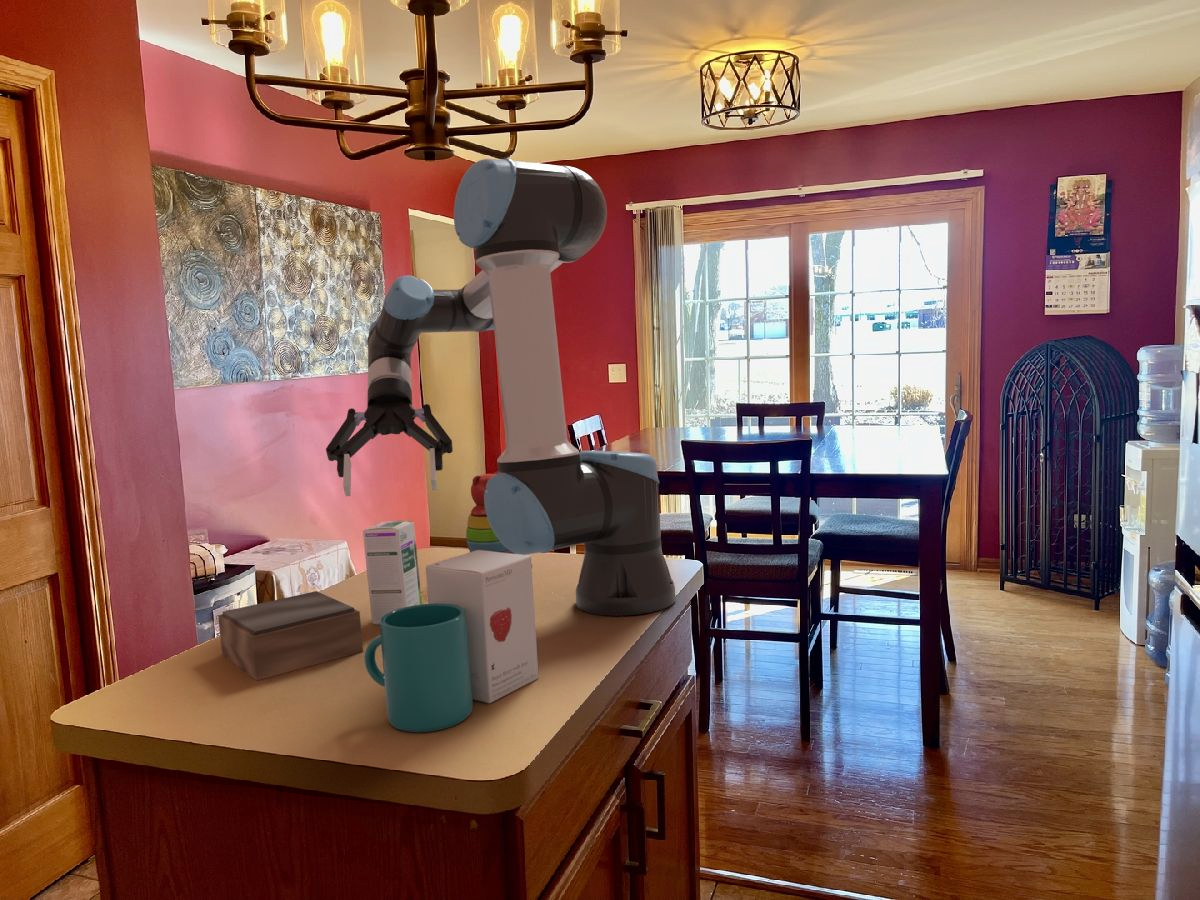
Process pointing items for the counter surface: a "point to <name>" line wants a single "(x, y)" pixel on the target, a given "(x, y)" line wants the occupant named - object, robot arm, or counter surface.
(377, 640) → the cup
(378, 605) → the syrup box
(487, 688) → the supplement box
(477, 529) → the stacking bear
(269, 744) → the counter surface
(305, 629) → the plinth
